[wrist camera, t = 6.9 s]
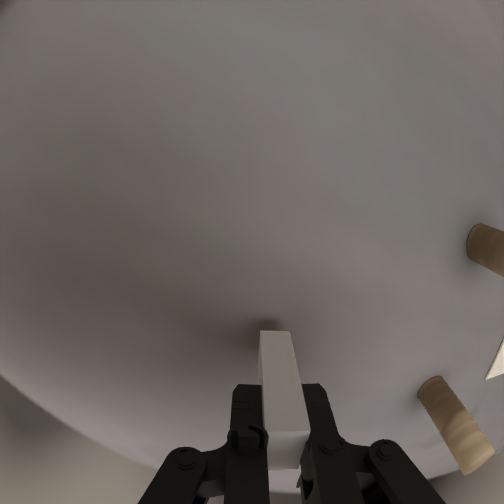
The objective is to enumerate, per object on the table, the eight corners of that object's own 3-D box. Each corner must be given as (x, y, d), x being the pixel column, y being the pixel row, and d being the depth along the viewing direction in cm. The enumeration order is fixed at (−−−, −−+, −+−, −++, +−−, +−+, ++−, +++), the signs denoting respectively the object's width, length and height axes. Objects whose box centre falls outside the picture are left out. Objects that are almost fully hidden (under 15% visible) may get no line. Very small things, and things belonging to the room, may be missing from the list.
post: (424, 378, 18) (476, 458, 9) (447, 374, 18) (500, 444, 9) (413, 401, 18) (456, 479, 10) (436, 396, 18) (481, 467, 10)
